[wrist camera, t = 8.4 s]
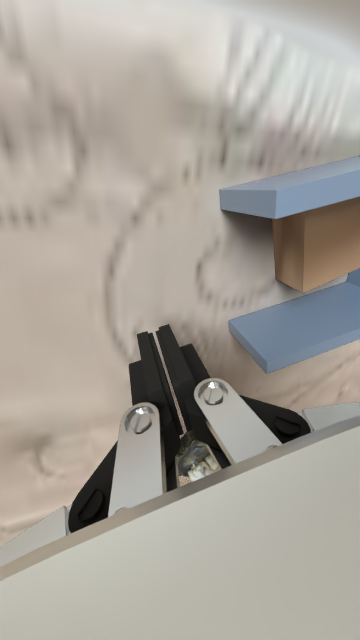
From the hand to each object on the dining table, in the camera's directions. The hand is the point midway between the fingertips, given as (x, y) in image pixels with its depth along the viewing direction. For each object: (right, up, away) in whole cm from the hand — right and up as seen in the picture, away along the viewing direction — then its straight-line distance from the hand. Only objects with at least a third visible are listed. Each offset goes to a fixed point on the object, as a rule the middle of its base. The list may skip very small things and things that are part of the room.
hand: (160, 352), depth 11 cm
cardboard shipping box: (+10, +8, +4) cm, 13 cm away
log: (+5, -13, +16) cm, 21 cm away
